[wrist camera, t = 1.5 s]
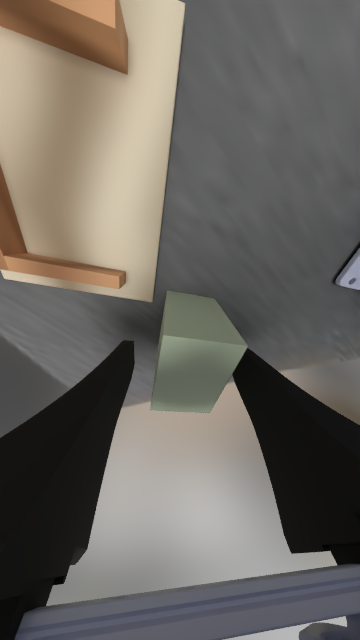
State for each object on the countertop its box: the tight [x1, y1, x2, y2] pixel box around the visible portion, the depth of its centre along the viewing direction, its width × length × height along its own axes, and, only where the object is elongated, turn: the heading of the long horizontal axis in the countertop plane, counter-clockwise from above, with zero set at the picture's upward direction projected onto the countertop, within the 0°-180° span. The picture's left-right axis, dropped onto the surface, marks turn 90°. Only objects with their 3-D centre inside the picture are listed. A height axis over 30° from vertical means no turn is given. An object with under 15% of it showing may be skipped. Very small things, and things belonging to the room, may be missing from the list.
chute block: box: [150, 290, 248, 413], centre depth 10 cm, size 4×6×6 cm, turn 168°
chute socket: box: [0, 0, 185, 302], centre depth 7 cm, size 10×12×2 cm
